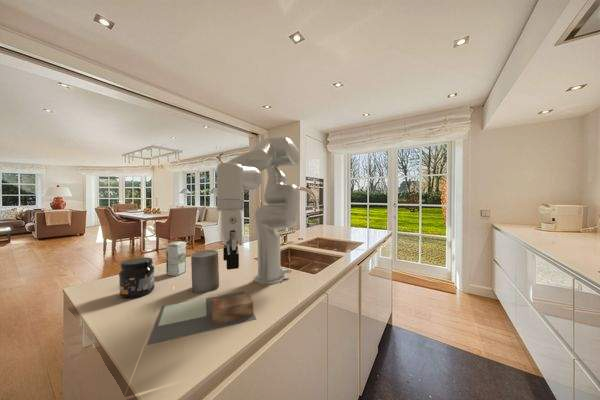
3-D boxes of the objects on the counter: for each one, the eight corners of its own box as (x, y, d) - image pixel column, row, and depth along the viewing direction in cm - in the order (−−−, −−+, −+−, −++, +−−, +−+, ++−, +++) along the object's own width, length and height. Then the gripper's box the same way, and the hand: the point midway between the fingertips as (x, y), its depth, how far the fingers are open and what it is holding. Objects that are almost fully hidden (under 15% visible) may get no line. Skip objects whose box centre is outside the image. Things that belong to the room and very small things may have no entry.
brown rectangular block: (248, 305, 70) (248, 292, 70) (253, 315, 64) (252, 301, 64) (211, 313, 66) (211, 299, 66) (212, 324, 60) (212, 309, 60)
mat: (244, 292, 81) (244, 290, 81) (256, 320, 62) (256, 318, 62) (161, 307, 70) (161, 305, 70) (147, 346, 52) (147, 344, 52)
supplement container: (116, 294, 81) (115, 261, 80) (149, 284, 89) (148, 255, 88) (123, 302, 74) (122, 267, 74) (158, 292, 82) (158, 260, 82)
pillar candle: (215, 281, 92) (214, 245, 92) (222, 288, 84) (221, 250, 84) (189, 287, 86) (188, 249, 86) (194, 296, 78) (193, 254, 78)
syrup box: (175, 271, 104) (174, 241, 104) (186, 271, 104) (185, 241, 103) (166, 275, 99) (165, 243, 99) (178, 276, 98) (177, 243, 98)
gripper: (249, 206, 58) (249, 271, 58) (239, 205, 74) (239, 255, 74) (218, 206, 55) (219, 275, 55) (215, 205, 71) (215, 258, 71)
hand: (230, 264), depth 64 cm, fingers open, 9 cm apart
